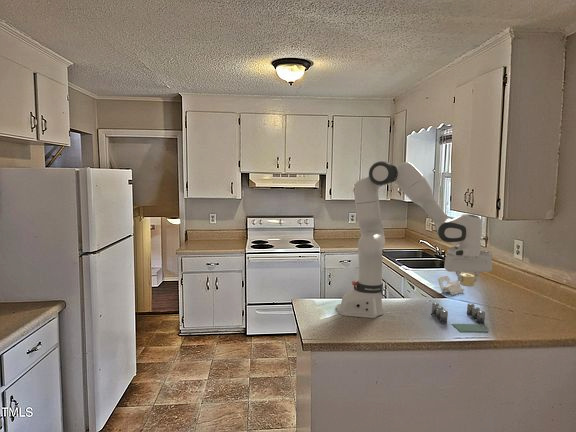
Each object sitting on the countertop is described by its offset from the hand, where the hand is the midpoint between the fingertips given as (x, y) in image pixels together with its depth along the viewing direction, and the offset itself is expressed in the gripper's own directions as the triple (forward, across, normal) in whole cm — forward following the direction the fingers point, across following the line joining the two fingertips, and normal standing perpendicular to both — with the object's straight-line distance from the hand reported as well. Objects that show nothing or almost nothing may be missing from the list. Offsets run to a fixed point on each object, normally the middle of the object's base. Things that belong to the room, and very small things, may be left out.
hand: (467, 281), depth 175 cm
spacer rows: (+19, 0, -6) cm, 20 cm away
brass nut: (+2, 0, 0) cm, 2 cm away
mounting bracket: (+20, -15, -46) cm, 53 cm away
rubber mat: (+19, +1, +6) cm, 20 cm away
